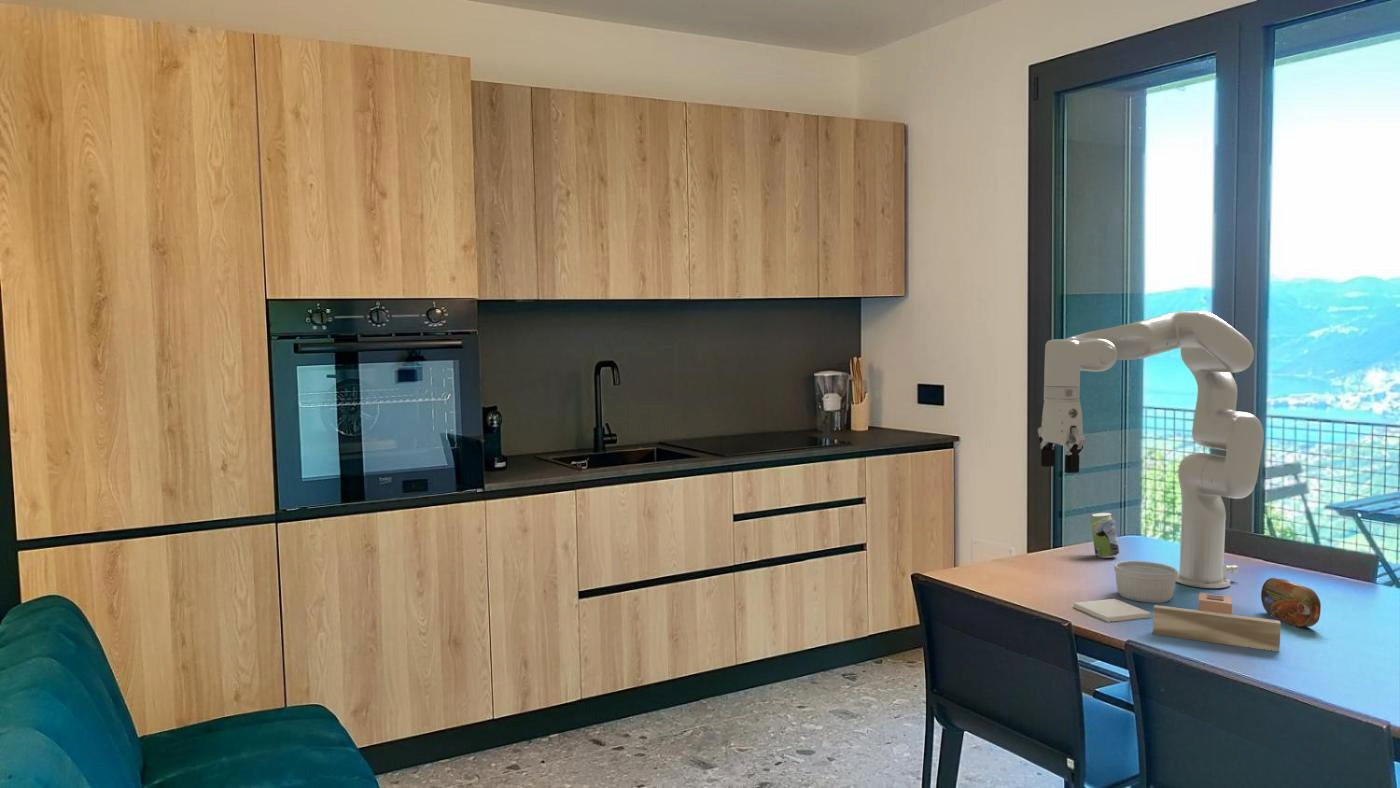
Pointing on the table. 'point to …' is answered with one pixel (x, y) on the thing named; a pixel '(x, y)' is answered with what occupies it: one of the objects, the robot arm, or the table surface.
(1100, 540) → the beverage can
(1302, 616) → the tin
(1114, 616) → the display tile
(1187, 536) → the robot arm
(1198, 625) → the wooden plank
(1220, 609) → the marked cube
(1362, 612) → the table surface
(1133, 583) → the ramekin
